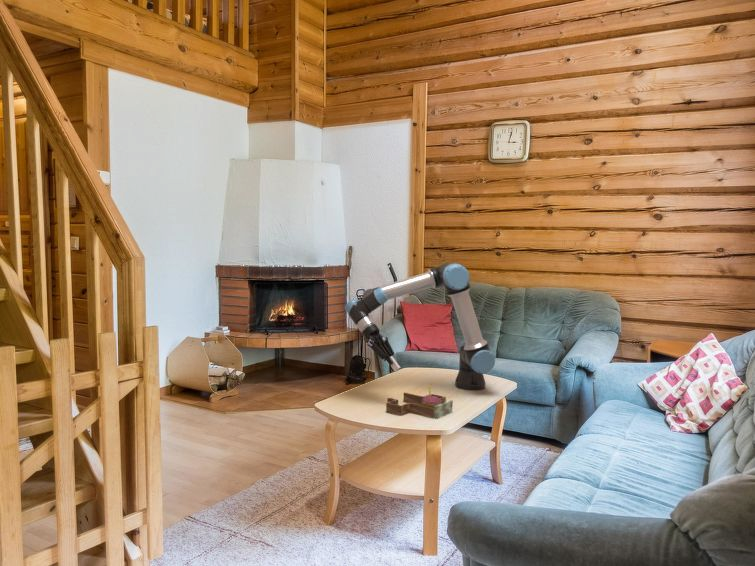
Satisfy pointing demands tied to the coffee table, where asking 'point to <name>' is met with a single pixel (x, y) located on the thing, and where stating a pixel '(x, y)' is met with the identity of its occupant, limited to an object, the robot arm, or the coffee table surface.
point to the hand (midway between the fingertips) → (397, 369)
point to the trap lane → (418, 406)
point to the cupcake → (431, 400)
